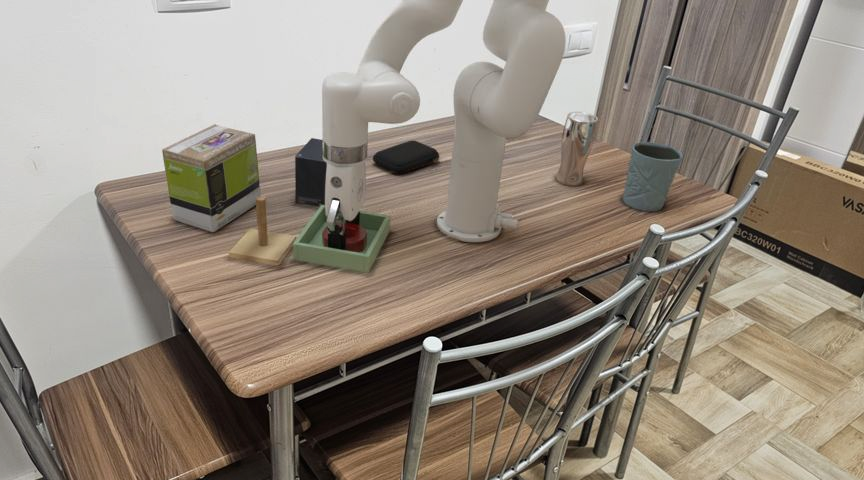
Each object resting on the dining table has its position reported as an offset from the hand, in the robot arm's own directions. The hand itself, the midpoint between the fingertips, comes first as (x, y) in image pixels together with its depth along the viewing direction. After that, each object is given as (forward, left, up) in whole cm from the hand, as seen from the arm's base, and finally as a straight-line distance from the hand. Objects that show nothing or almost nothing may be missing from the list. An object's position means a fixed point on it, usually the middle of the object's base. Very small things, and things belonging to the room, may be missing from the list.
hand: (344, 240), depth 124 cm
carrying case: (-3, -41, -2) cm, 41 cm away
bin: (0, 0, -1) cm, 1 cm away
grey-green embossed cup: (-56, -39, -2) cm, 68 cm away
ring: (0, 0, -1) cm, 1 cm away
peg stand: (+13, +6, -1) cm, 15 cm away
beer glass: (-40, -45, -2) cm, 60 cm away
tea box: (+27, -5, -2) cm, 28 cm away
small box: (+11, -18, -2) cm, 21 cm away
